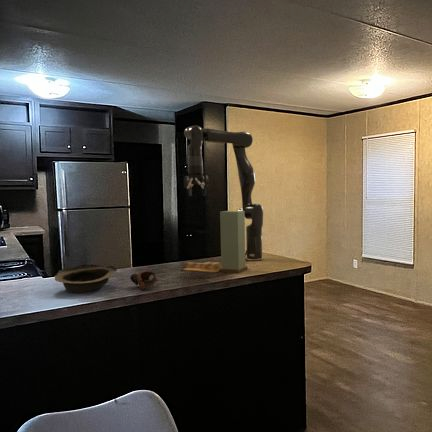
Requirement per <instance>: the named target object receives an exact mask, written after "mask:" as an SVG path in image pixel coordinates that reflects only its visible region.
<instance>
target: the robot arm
mask: <svg viewBox="0 0 432 432" xmlns="http://www.w3.org/2000/svg"><path fill="white" fill-rule="evenodd" d="M183 134H184V137H185V138H186V139H187V140H188V141H190V144H188V145H187V171H188V172H187V173H188V176H187V175H185V176H183V188H184V189H187V195H188V197H192V196H193V189H192V187H193V186H194V185H199V186H200V187H201V196H202V197H206V195H207V189H208V188H210V177H209V175H204V165H203V163H204V162H203V156H202V145H203V142H208V143H213V144H214V143H215V144H232V149H233V153H234V156H235V162H236V168H237V175H238V181H239V186H240V193H241V204H242V205H241V206H242V208H241V209H242V211H244V214H245V219H246V220H251V223H250V224H248V225H246V226H245V246H246V249H245V257H246V261H249V262H250V261H251V262H259V261H262V260H263V226H264V208H263V206H262V205H261V204H260V203H253V199H252V193H253V190H254V187H255V185H256V174H255V170H254V167H253V165H252V163H251V162H250V160H249V158H248V155H247V152H246V149H247V148H249V147H251V146H252V144H253V142H254V138H253V135H251V133H250V132H248V131H226V130H221V129H217V128H216V129H215V128H208V127H207V128H202V127H201V126H199V125H191V126H188V127H186V128H185V129H184V131H183Z"/></svg>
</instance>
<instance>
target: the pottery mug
mask: <svg viewBox="0 0 432 432" xmlns="http://www.w3.org/2000/svg"><path fill="white" fill-rule="evenodd" d="M151 276H153V277H152V278H151V279H150V277H151ZM129 279H130V281H131V282H132V283H133V284H135V286H136V287H137V286H138V285H139V289H140V290H142V291H143V290H144V289H145V288H148V287H152V286H154V285H155V283H157V282H158V279H157V276H156V273H155V272H154V271H151V270H143V271H140V272H139V273H138V274H137V273H132V274H131V275H130V278H129Z"/></svg>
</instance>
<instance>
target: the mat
mask: <svg viewBox="0 0 432 432" xmlns="http://www.w3.org/2000/svg"><path fill="white" fill-rule="evenodd" d="M219 269H221V268H219ZM219 269H217V270H207V269H202V268H189V267H184V268H182V269H181V270H182V271H186V272H201V273H213V274H216V273H220V272H219Z"/></svg>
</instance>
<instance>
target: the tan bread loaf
mask: <svg viewBox="0 0 432 432" xmlns="http://www.w3.org/2000/svg"><path fill="white" fill-rule="evenodd" d="M188 267H189V268H202V269H207V270H217V269H219V268H221V261H220V262H219V261H213V257H212V256H211V257H210V261H206V262H193V261H186V262H184V268H188Z"/></svg>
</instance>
